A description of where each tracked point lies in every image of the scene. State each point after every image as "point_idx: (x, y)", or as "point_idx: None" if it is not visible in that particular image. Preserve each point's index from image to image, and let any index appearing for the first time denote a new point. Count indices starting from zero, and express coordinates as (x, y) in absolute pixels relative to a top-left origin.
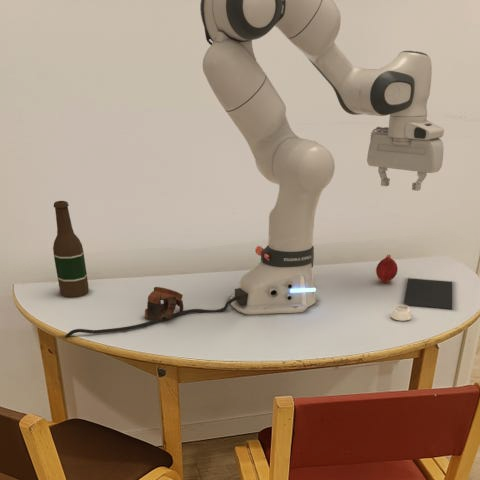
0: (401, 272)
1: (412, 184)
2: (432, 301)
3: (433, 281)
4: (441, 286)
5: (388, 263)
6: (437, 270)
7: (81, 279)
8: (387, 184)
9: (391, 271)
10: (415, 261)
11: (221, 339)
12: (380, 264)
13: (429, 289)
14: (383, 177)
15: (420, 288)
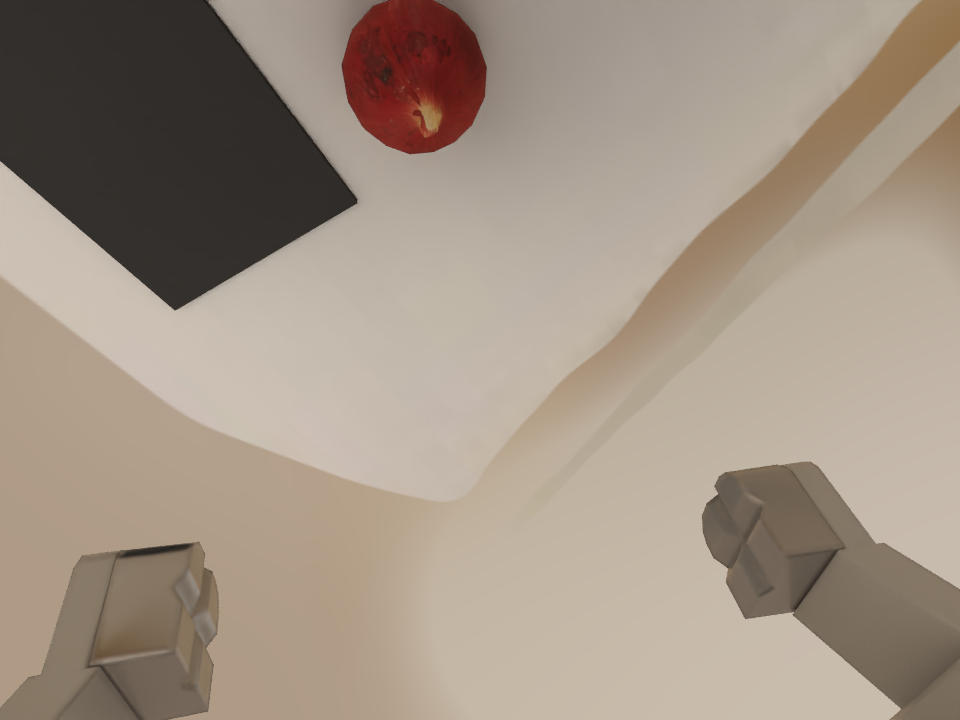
0: (453, 263)
1: (171, 624)
2: None
3: (235, 253)
4: (142, 217)
5: (387, 59)
6: (353, 388)
7: None
8: (721, 518)
9: (351, 44)
10: (496, 409)
11: None
12: (442, 34)
13: (136, 127)
14: (853, 578)
15: (180, 102)
